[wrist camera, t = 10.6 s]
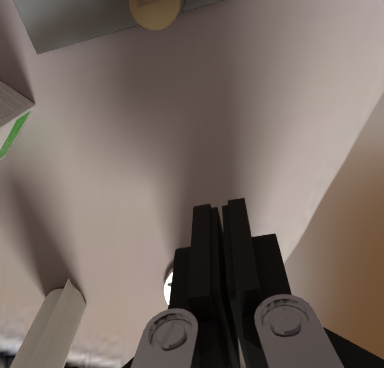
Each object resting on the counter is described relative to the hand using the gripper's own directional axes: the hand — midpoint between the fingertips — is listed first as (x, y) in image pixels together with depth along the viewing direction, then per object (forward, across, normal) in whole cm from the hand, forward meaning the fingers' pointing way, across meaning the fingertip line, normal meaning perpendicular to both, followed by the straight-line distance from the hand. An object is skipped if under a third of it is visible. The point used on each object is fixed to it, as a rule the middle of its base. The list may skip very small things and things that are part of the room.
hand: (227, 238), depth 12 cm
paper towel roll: (+29, +28, +29) cm, 50 cm away
